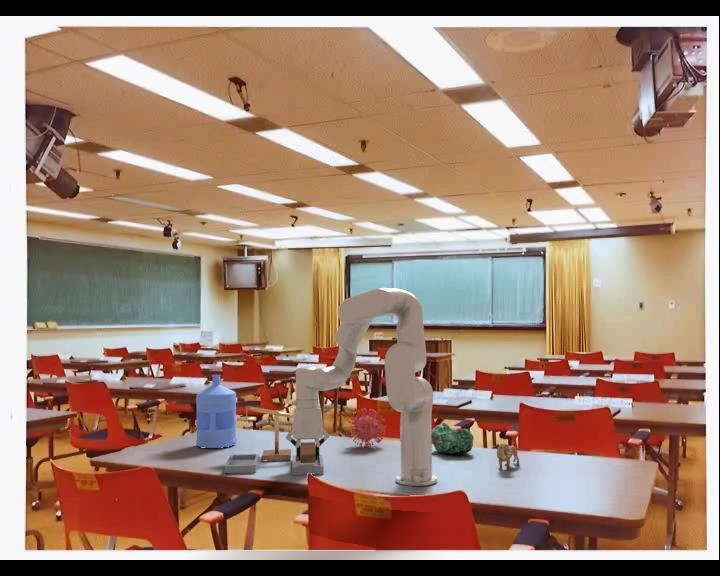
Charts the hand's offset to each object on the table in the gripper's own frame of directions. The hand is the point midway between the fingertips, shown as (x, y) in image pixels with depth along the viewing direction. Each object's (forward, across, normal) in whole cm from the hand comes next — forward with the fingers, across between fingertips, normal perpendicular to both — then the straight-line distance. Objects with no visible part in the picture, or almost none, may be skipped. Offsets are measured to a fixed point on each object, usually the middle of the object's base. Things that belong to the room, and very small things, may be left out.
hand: (307, 458), depth 222 cm
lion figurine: (+4, +66, -9) cm, 67 cm away
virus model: (+4, +23, +33) cm, 40 cm away
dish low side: (+3, 0, 0) cm, 3 cm away
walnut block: (+1, 0, 0) cm, 1 cm away
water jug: (+4, -36, +45) cm, 58 cm away
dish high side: (+3, -22, +5) cm, 23 cm away
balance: (+3, -11, +18) cm, 21 cm away
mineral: (+4, +53, +18) cm, 56 cm away
